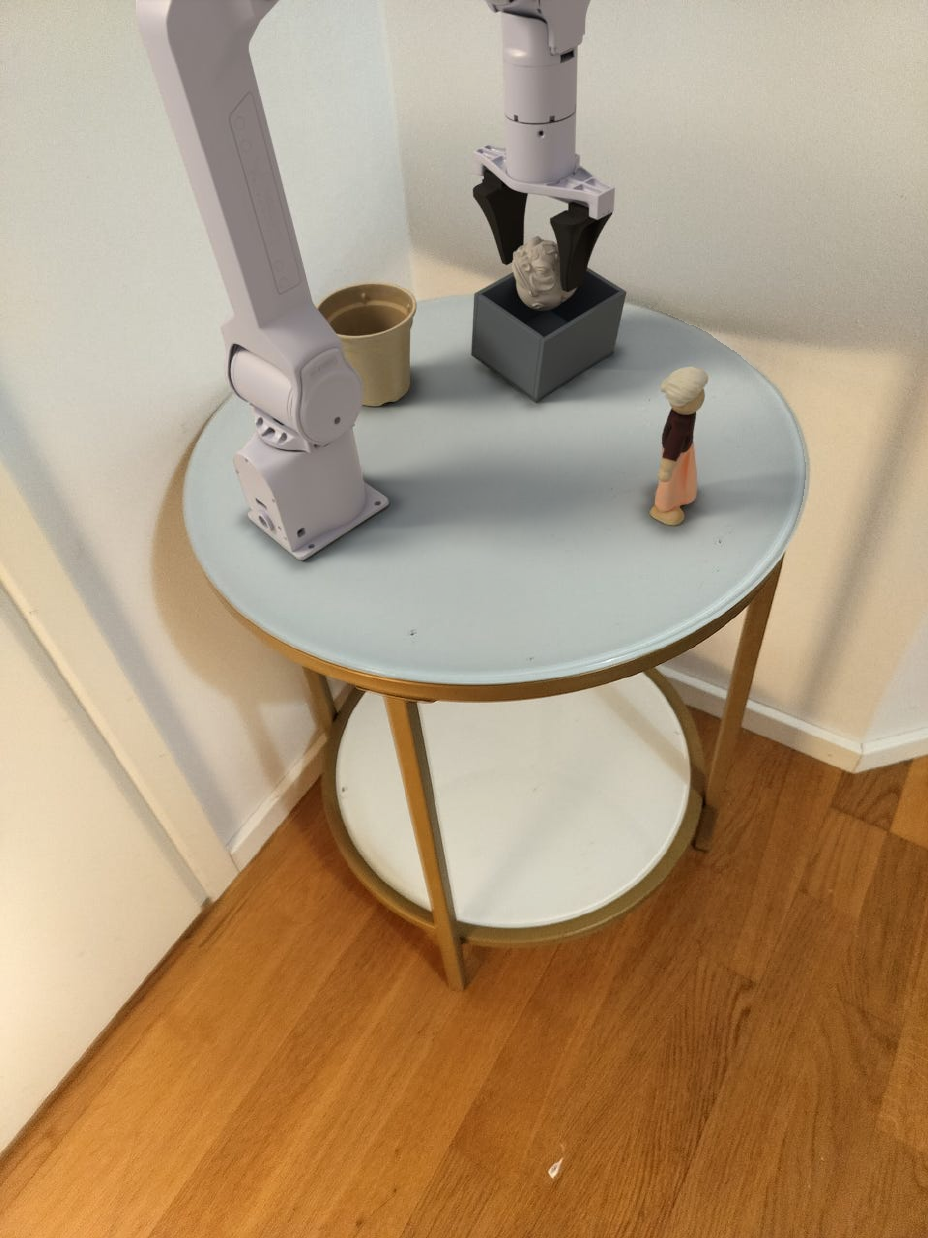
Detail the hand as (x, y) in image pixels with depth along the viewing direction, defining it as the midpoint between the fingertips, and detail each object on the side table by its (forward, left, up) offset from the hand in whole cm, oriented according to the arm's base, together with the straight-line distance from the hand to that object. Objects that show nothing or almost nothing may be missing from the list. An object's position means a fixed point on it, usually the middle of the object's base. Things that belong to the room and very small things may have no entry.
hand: (541, 273), depth 79 cm
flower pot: (-14, +9, -9) cm, 19 cm away
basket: (0, +1, -8) cm, 8 cm away
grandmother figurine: (-8, -22, -9) cm, 25 cm away
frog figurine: (0, +1, -3) cm, 4 cm away
